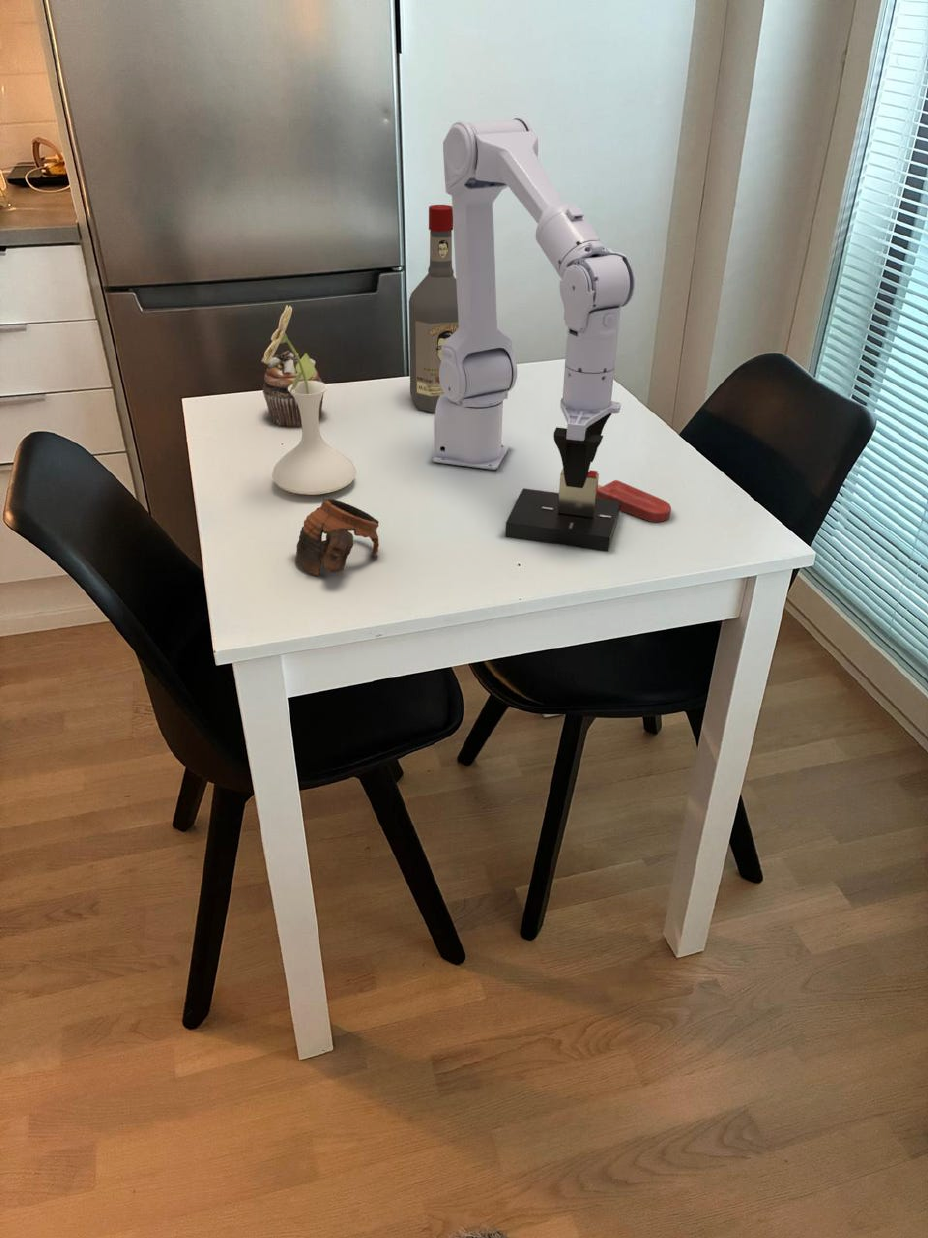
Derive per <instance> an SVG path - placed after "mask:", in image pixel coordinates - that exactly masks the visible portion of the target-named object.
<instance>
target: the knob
mask: <svg viewBox="0 0 928 1238" xmlns="http://www.w3.org/2000/svg"><path fill="white" fill-rule="evenodd" d="M599 479H600V472H598V471H596V470H589V471H588V475H587V478H586V481H585V484H584V486H583V488H576V487H568V486H566V483H565V478H564V471H563V468H562V470H561V472H560V475H559V487H558V493H559V497H558V510H557V513H562V514H569V515H576V516H584V517H591V518H593V517H594V514H595V508H596V498H597V489H598V485H599Z"/></svg>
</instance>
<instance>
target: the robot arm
mask: <svg viewBox="0 0 928 1238" xmlns="http://www.w3.org/2000/svg"><path fill="white" fill-rule="evenodd" d="M442 154H443V155H442V156H443V173H444V186H445V187H444V188H445V193H446V194H448V195H450V196H451V206H452V209H453V244H454V246H453V247H454V264H455V278H456V284H457V303H458V322H459V328H458V329H457V330H456V331H455V332H454V333H453V334H452V335H451V336H450V337H449V338H448V339H447V340H446V341H445V342H444V343H443V345H442V346H441V350H442V351H441V364H440V367H439V381H440V385H441V388H442V391H443V393H444V394H442V395H440V397H439V399H438V401H437V404H436V409H435V413H434V420H433V421H434V423H433V425H434V426H433V429H434V431H433V433H434V434H433V436H434V437H433V439H434V440H433V441H434V443H433V446H434V447H433V448H434V450H433V451H434V453H433V454H434V455H433V458H432V462H433V463H438V464H445V465H451V466H452V465H453V466H462V467H468V468H476V469H485V470H490V471H491V470H492V471H496V470H497V469H498V468H499V466H500V465H501V463H502V461H503V459H504V458H505V455H506V454H507V453H508V450H509V446H508V445H506V444H502V435H503V412H504V411H503V408H504V400H507V399H508V396H509V392H510V391H512V390H513V389H514V387H515V385H516V382H517V379H518V365H517V361H516V358H515V355H514V348H513V340H512V338H510V337H509V336H508V335H506V333H504V332H503V331H501V330H500V329H499V328H498V324H497V323H498V322H497V321H498V320H497V319H498V318H497V293H496V267H495V266H496V265H495V238H494V237H495V236H494V235H495V234H494V232H495V231H494V210H493V209H494V202H495V200H496V199H497V198H498V197H499V195H500V194H501V192H502V191H503V190H505V189H507V188H509V190H510V191H511V192H512V193H513V195H514V196H515V197H516V198H517V200H518V201H519V202H520V203H521V205H522V206H523V208H525V210H526V211H527V212H528V213H529V215H530V216H531V217H532V218H533V220H534V221H535V222H536V223H537V226H536V230H535V239H536V243H538V245H539V247H540V248H541V250H542V252H543V253H544V255H545V256H546V258H547V259H548V261H549V262H550V264H551V265H552V267H553V268H554V270H555V271H556V273H557V275H558V276H559V278H560V280H559V294H560V298H561V302H562V304H563V320H564V325H565V326H566V327H567V333H566V348H565V359H564V372H563V373H564V374H563V383H562V384H563V385H562V386H563V387H562V398H561V399H560V404H559V407H560V410H561V412H562V415H563V416H564V419H565V421H566V423H567V424H566V427H555V429H554V431H553V436H552V437H553V442H554V443H555V445H556V448H557V449H558V452H559V455H560V458H561V464H562V469H563V471H564V478H565V483H566V486H568V487H576V488H583V486H584V484H585V481H586V478H587V475H588V472H589V471H590V467H591V463H593V461H594V460H595V457H596V455H597V452H598V448H599V446H600V445H601V443H602V441H603V439H604V435H602V434H603V430H604V428H605V426H606V424H607V422H608V421H609V418H610V417H611V415H612V414H618V413H620V410H621V407H622V404H621V402H619V401H613V400H612V396H613V386H614V385H613V384H614V377H615V376H614V375H615V366H616V359H617V358H616V357H617V348H618V347H617V346H618V339H619V338H618V337H619V330H620V329H619V328H620V320H621V319H620V318H621V310H622V308H624V307H625V306H627V305H628V304H629V303H630V301H631V300H632V299H633V296H634V292H635V284H636V280H635V278H636V277H635V272H634V269H633V267H632V264H631V262H630V260H629V258H628V256H627V255H625V253H623V252H618V251H613V250H612V248H611V247H605V245H604V244H603V242H602V240H601V239H600V238H599V237H598V235H597V234H596V232H595V230H594V229H593V228H592V226H591V225H590V224H589V222H588V221H587V219H586V217H585V216H584V215H585V214H584V213H583V211H582V209H581V207H578V206H576V205H574V204H569V203H568V204H567V203H566V204H565V203H564V204H563V201H562V200H561V198H560V196H559V194H558V192H557V191H556V189H555V187H554V185H553V184H552V182H551V180H550V178H549V176H548V174H547V172H546V170H545V169H544V167H543V165H542V163H541V161H540V159H539V138H538V135H537V134H536V133H535V132H534V130H533V128H532V126H531V124H530V123H529V121H528V120H526V119H525V118H523V117H515V118H513V119H500V120H499V119H498V120H482V121H481V120H480V121H463V120H459V121H455V122H454V123H453V124H452V125H451V126H450V128H449V130H448V131H447V133H446V136H445V138H444V140H443V141H442Z"/></svg>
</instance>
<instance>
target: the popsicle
mask: <svg viewBox="0 0 928 1238" xmlns="http://www.w3.org/2000/svg"><path fill="white" fill-rule="evenodd" d="M597 498H599V499H607V500H614V501H620V510H619V512H620V511H621V512H622V513H626V514H629V515H631V516H634V517H636V518H638V519H641V520H644V521H647V522H653V523H654V522H655V523H659V522H665V521H667V520H668V519H669V518H670V516H671V510H672V506H671V504H670V503H669V502H667V501H666V500H664V499H662V498H659V497H658V496H655V495H652V494H651V493H648V492H646V491H643V490H641V489H639V488H636V487H634V486H632V485H630V484H627V483H626V482H623V481H620V480H618V479H613V480H612V481H610V482H608V483H606V484H604V485H600V484H598V489H597Z"/></svg>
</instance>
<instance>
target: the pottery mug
mask: <svg viewBox="0 0 928 1238" xmlns="http://www.w3.org/2000/svg"><path fill="white" fill-rule="evenodd" d="M379 523H380V522H379V520H378V519H377V518H375V517H374V516H372V515H371V514H370V513H368V512H365V511H364V510H361V509H360V508H357V507H356V506H355V505H354V506H353V505H351V504H348V503H346V502H343V501H340V500H337V499H333V498H330V497H329V498H323V499H322V502H321V505H320V506H319V507H317V508H316V509H315V510H314V511H312V512H310V514H308V515H307V516H306V518H305V520H303V526H302V527H301V529H300V532H299V536H298V541H297V543H296V552H295V556H294V557H295V558H294V560H295V563H297V564H298V566H299V567H300V568H302V569H303V570H304V571H306V572H308V573H310V574H312V575H314V576H317V577H318V576H320V573H321V567H323V568H324V569H325V570H326V571H328V572H329V573H338V572H342V571H344V568H345V566H346V565H347V564H346V563H347V560H348V557H349V555H350V554H351V551H352V549H353V547H354V536H357V537H358V536H359V537H363V538H370V539H371V541H372V543H373V547H372V551H371V555H372V556H373V557H377V555H378V554H377V553H378V551H379V546H380V544H379V535H378V533H377V529H378V527H379ZM350 531H353V533H352V532H350ZM323 534H325V540H322V539H323Z"/></svg>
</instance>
